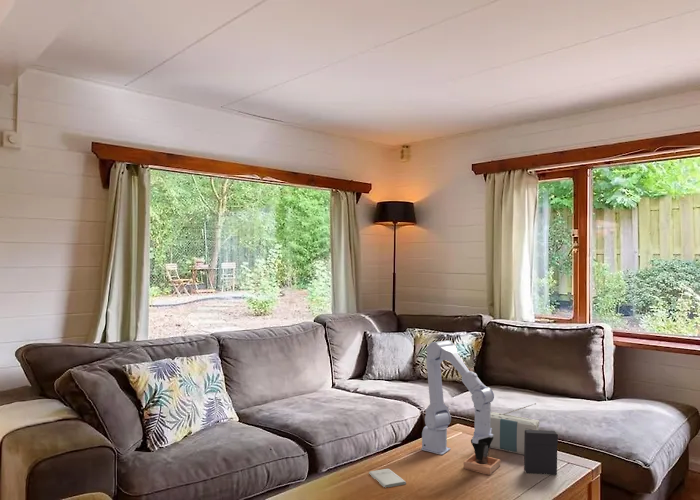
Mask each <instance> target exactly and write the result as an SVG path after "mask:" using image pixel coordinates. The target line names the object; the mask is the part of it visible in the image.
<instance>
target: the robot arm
mask: <svg viewBox="0 0 700 500" xmlns="http://www.w3.org/2000/svg"><path fill="white" fill-rule="evenodd" d="M425 360H426V361H425V362H426V374H427V382H428V383H427V385H428V395H429V405H428V406H427V408H426V409H425V416H424V424H425V426H424V427H423V429H422V432H421V448H420V450H421V451H425V452H430V453H431V454H432V453H433V454H436V455H442V456H443V455H444V454H445V453H447V452H449V451H450V450H451V447H448V445H447V443H448V441H447V438H448V437H447V435H448V433H447V432H448V430H447V429H448V428H449V425H450V424H451V421H452V416H451V413H450V410H449V406H447V405H446V404H445V402H444V392H443V391H444V389H443V380H442V371H441V370H442V369H441V363H442V362H443V361H448V362H449V363H450V364H451V366H452V367H454V369H455V370H456V371H457V372H458V373H459V374H460V376H461V382H462V383H463V384H464V386H465V387H466V389H467V390H468V391H469V393H470V394H471V401H472V402H473V407H474V431H473V436H472V438H471V439H470V443H471V446H472V447H473V450H474V454H475V455H476V459H478V460H483V455H484V449H485V446H486V444H488V453H489V451H490V448H491V447H490V444H491V442H492V440H493V434H491V433H492V428H490V418H491V412H492V410H491V406H492V405H491V403H492V402H493V401H494V398H495V394H494V392H493V390H492V388H490V387H489V386H486V385H485V384H484V382H482V381H481V379H480V378H479V377H478V374H477V373H476V372H475V371H471V370H469V368H468V367H467V365H466V364H465V362H464V361H463V359H462V358H461V356H460V355H459V353H458V351H457V346H456V345H455V344H454V342H453V341H452V340H449V339H446V340H442V341H441V340H439V341H432V342H430V343H429V344H428V345H427V346H426V359H425Z"/></svg>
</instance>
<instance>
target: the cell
mask: <svg viewBox="0 0 700 500" xmlns="http://www.w3.org/2000/svg"><path fill="white" fill-rule="evenodd" d="M488 455H489V452H488V444H486V446H485V449H484V455H483V460H478V459H476V463H478V464H487V463H488V457H489V456H488Z"/></svg>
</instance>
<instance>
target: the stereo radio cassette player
mask: <svg viewBox="0 0 700 500" xmlns="http://www.w3.org/2000/svg"><path fill="white" fill-rule="evenodd" d="M533 405H537V403H536V402H535V403H533V404H530V405H526V406H523V407H519V408H517V409H514V410H510V411H508V412H505V413H502V412H501V413H499V412H495V411H491V418H490V428H492V433H491V434H493V440H492V442H491V444H490V448H492V449H496V450H500V451H505V452H509V453H515V454H518V455H523V456H524V436H525V430H540V420H539V419H533V418H527V417H522V416H517V415H512V414H511V413H514V412H518V411H519V410H520V411H521V410H523V409H526V408H528V407H531V406H533Z"/></svg>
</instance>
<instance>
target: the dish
mask: <svg viewBox="0 0 700 500" xmlns="http://www.w3.org/2000/svg"><path fill="white" fill-rule="evenodd" d="M500 467H501V459H499V458H495V457H490V456H488V463H487V464H478V463H476V455H475V453H473V454H471V455H470V456H469V457H468V458H466V459H465V460H463V469H465V470H469V471H471V472H476V473H481V474H484V475H489V476H491V475H492V474H493V473H494V472H495V471H496V470H498V469H499V468H500Z"/></svg>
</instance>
